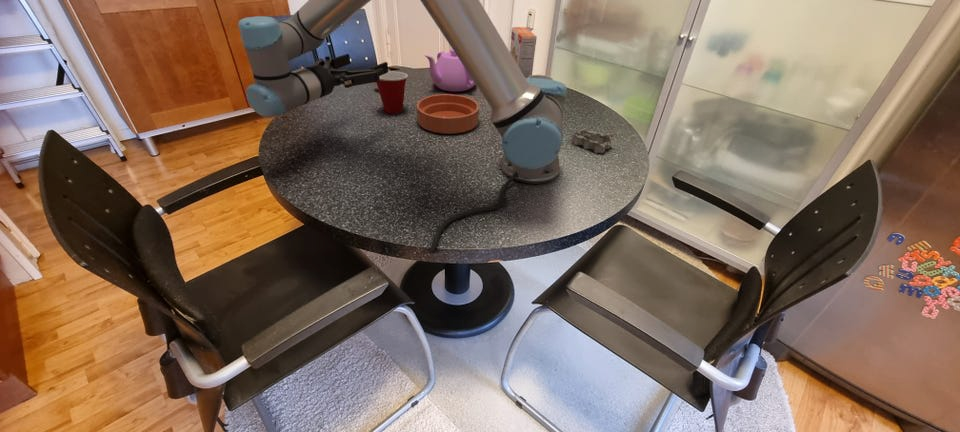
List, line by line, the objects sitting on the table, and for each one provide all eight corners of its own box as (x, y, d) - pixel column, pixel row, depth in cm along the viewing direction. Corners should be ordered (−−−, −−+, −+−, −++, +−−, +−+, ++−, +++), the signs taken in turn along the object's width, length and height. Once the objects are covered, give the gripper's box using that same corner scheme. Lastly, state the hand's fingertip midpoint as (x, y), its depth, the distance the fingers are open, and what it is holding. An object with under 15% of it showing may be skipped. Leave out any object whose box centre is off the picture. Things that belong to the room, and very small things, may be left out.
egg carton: (612, 147, 110) (616, 135, 108) (599, 155, 106) (603, 142, 103) (581, 135, 116) (584, 123, 113) (568, 142, 111) (570, 130, 109)
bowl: (468, 139, 110) (468, 122, 106) (407, 129, 113) (406, 112, 110) (485, 115, 125) (485, 99, 121) (431, 106, 128) (430, 90, 125)
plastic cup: (413, 105, 128) (411, 70, 121) (405, 118, 120) (402, 80, 112) (383, 103, 129) (379, 67, 121) (372, 115, 120) (367, 77, 113)
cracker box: (506, 82, 152) (511, 26, 139) (520, 82, 153) (526, 26, 140) (514, 95, 141) (521, 35, 128) (530, 94, 142) (537, 35, 129)
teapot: (410, 85, 144) (407, 47, 136) (454, 75, 156) (454, 40, 147) (445, 102, 132) (444, 62, 123) (489, 90, 144) (491, 52, 135)
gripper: (278, 88, 97) (336, 68, 113) (353, 109, 90) (404, 84, 105) (270, 58, 93) (331, 42, 108) (348, 77, 85) (402, 56, 100)
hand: (367, 62), depth 106 cm, fingers open, 13 cm apart
